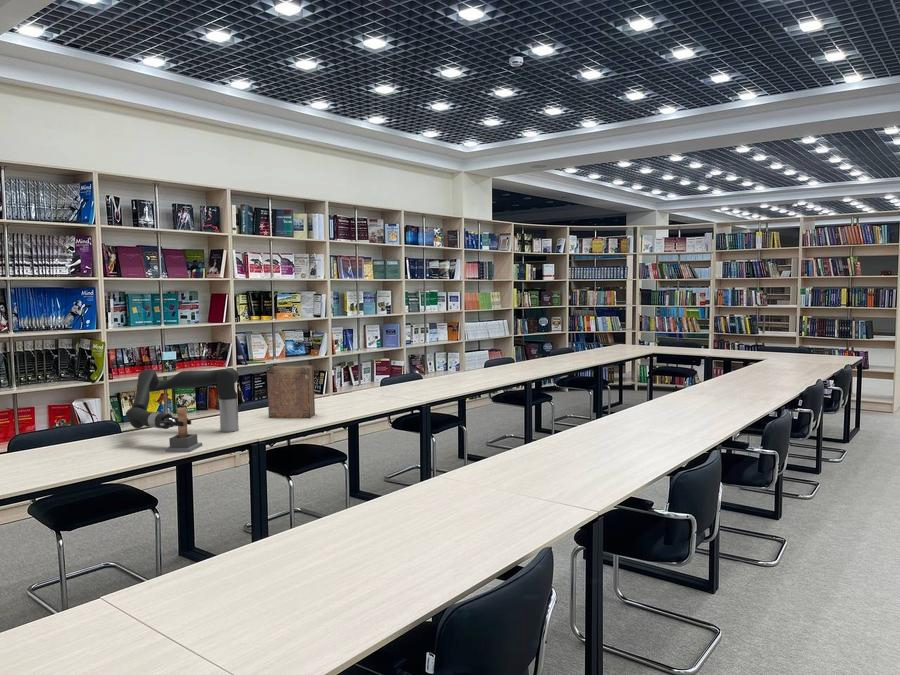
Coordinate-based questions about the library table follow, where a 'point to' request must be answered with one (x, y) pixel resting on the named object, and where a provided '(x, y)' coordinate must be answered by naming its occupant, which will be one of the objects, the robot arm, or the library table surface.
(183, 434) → the peg
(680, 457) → the library table surface
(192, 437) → the socket board
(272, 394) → the book
